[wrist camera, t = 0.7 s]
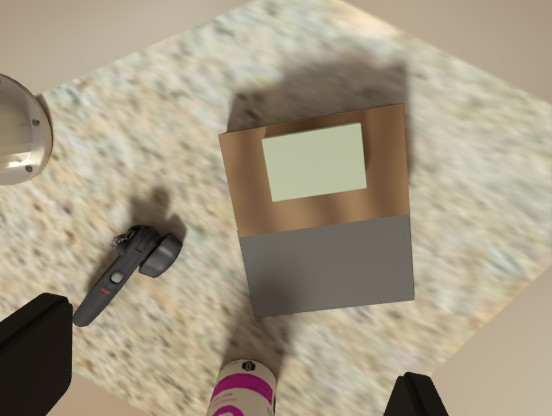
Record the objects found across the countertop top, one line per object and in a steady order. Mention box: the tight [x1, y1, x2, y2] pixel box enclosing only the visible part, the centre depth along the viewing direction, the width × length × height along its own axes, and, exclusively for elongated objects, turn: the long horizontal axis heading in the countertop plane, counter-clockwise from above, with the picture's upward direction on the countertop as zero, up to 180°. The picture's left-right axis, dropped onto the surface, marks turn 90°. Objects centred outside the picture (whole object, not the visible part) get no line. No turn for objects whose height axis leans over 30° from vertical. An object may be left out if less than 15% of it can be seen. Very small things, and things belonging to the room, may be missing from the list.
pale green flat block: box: [262, 122, 367, 202], centre depth 32 cm, size 9×6×2 cm, turn 99°
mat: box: [237, 214, 414, 317], centre depth 40 cm, size 20×12×1 cm, turn 99°
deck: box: [218, 103, 410, 237], centre depth 35 cm, size 18×11×4 cm, turn 99°
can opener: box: [73, 225, 183, 327], centre depth 40 cm, size 18×7×6 cm, turn 135°
